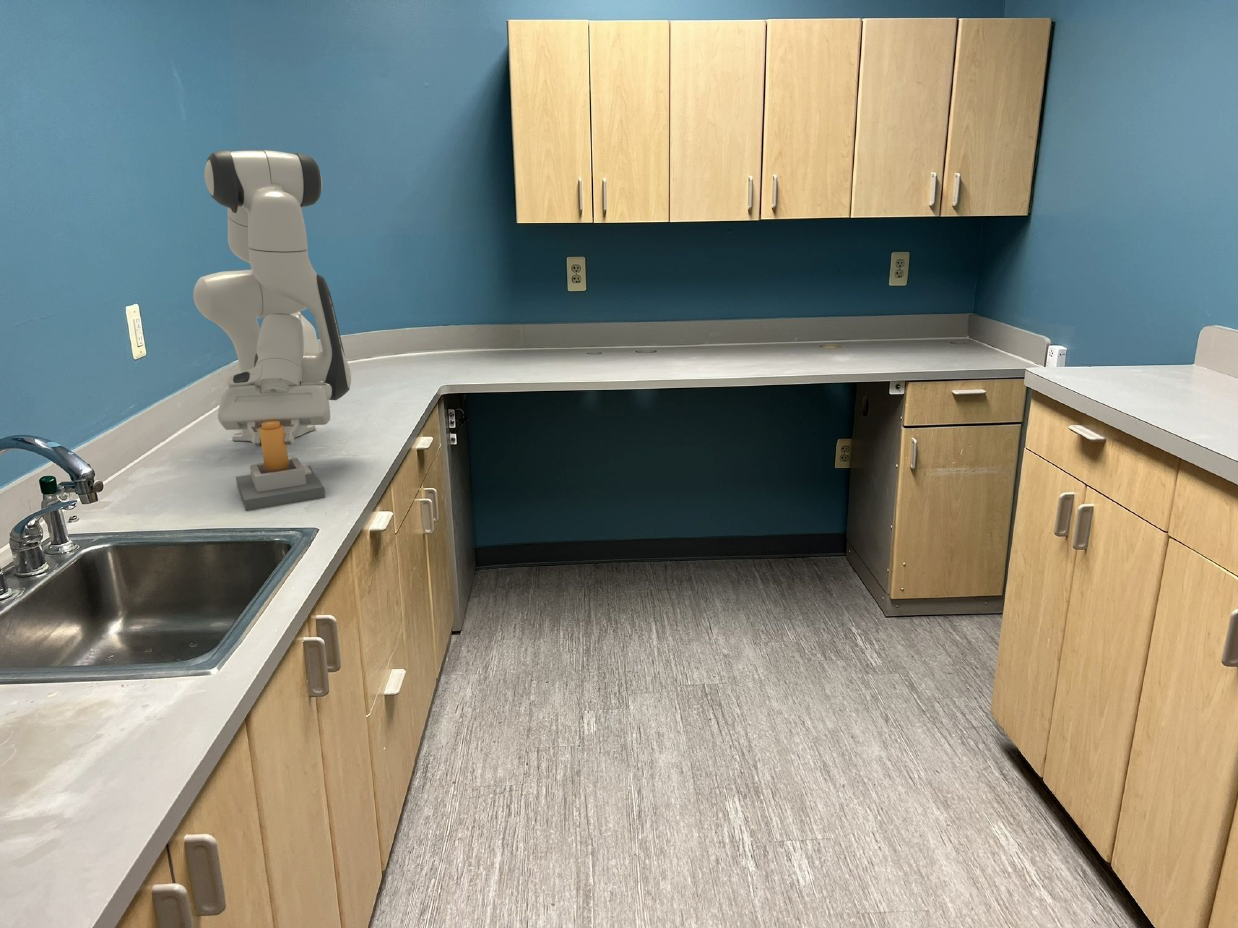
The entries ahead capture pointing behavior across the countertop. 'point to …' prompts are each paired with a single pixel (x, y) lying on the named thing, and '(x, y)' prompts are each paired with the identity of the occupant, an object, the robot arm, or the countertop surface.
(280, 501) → the plate
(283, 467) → the orange bottle
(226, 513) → the countertop surface
